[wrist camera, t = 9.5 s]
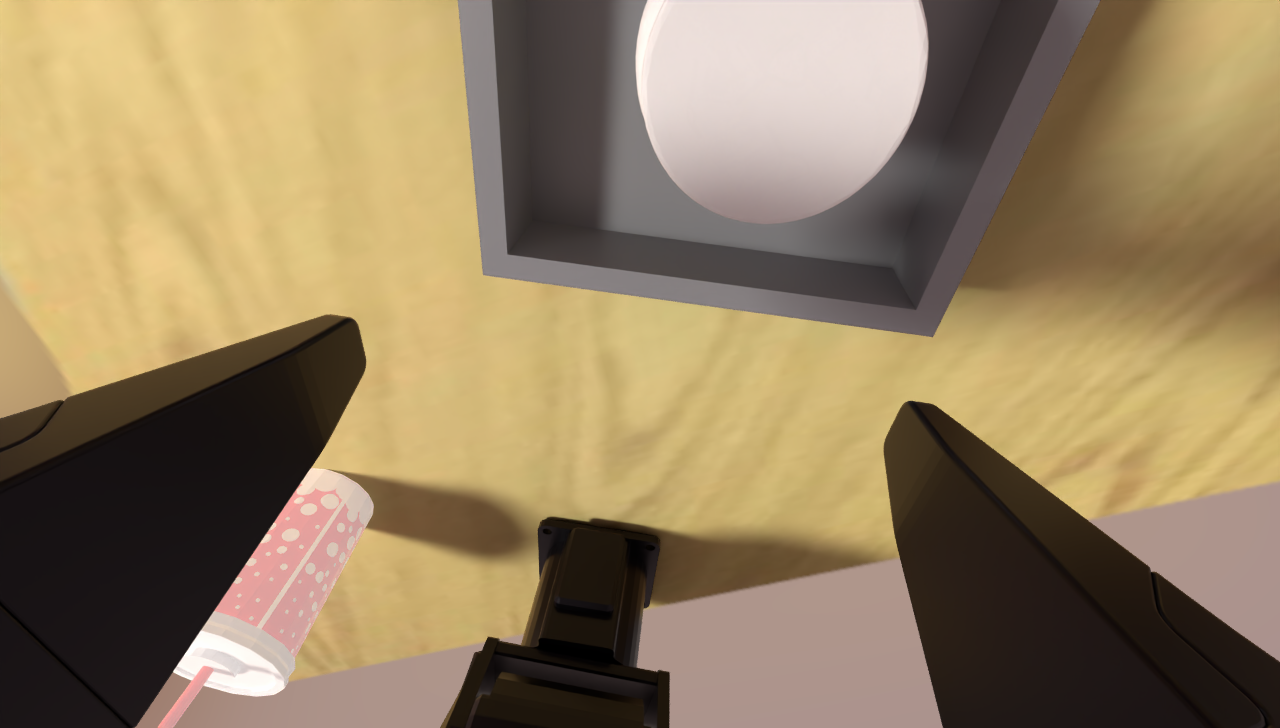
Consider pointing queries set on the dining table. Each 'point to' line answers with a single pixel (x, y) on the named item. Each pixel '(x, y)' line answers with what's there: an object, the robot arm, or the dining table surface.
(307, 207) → the dining table surface
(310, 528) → the beverage cup
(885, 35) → the supplement bottle
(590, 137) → the tray
